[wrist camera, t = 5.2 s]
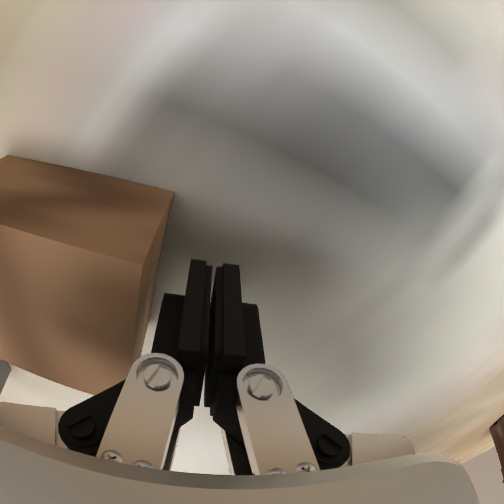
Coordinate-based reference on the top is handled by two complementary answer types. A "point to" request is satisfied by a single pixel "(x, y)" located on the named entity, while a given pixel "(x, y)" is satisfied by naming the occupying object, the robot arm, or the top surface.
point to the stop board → (3, 373)
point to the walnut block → (76, 271)
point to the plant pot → (499, 440)
